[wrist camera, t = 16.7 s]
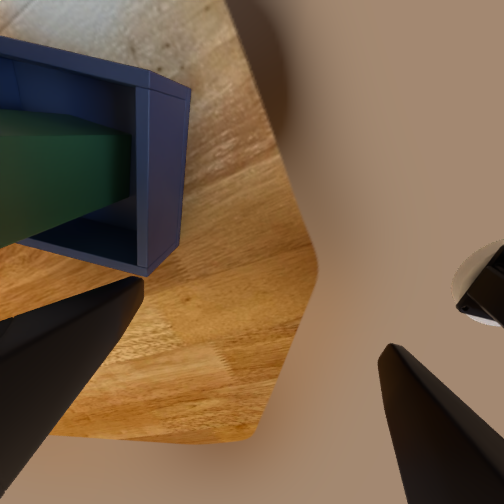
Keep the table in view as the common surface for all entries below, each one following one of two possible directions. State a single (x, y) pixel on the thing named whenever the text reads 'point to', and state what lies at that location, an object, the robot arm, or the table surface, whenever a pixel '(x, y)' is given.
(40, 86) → the dark blue open container
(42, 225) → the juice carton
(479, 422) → the robot arm
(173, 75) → the table surface
